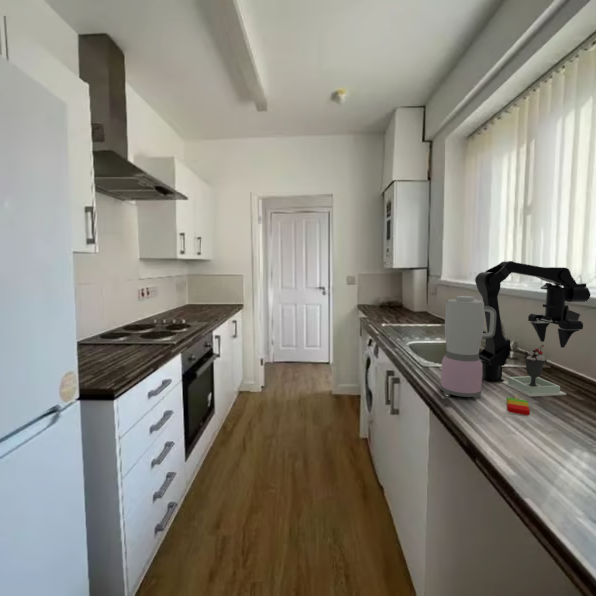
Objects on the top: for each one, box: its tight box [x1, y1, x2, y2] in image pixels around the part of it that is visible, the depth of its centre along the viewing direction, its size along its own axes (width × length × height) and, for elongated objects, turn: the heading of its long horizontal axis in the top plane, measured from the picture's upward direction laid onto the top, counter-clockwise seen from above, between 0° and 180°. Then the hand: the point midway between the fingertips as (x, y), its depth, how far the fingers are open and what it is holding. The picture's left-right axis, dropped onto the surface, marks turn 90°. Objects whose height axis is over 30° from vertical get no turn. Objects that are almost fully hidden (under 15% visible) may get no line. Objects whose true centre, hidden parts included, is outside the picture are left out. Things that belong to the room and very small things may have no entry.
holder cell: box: [501, 375, 567, 397], centre depth 123 cm, size 13×13×2 cm
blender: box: [439, 295, 496, 401], centre depth 116 cm, size 16×12×32 cm
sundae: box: [522, 344, 548, 387], centre depth 122 cm, size 7×7×15 cm
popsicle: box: [506, 394, 531, 416], centre depth 109 cm, size 6×15×2 cm, turn 151°
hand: (552, 344), depth 132 cm, fingers open, 9 cm apart
